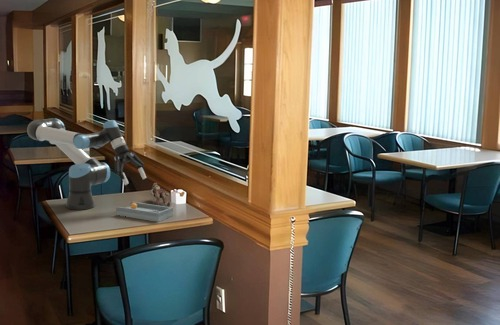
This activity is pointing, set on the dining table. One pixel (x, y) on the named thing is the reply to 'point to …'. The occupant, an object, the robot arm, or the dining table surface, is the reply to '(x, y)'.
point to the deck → (146, 212)
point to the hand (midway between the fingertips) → (136, 181)
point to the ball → (133, 205)
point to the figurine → (159, 195)
